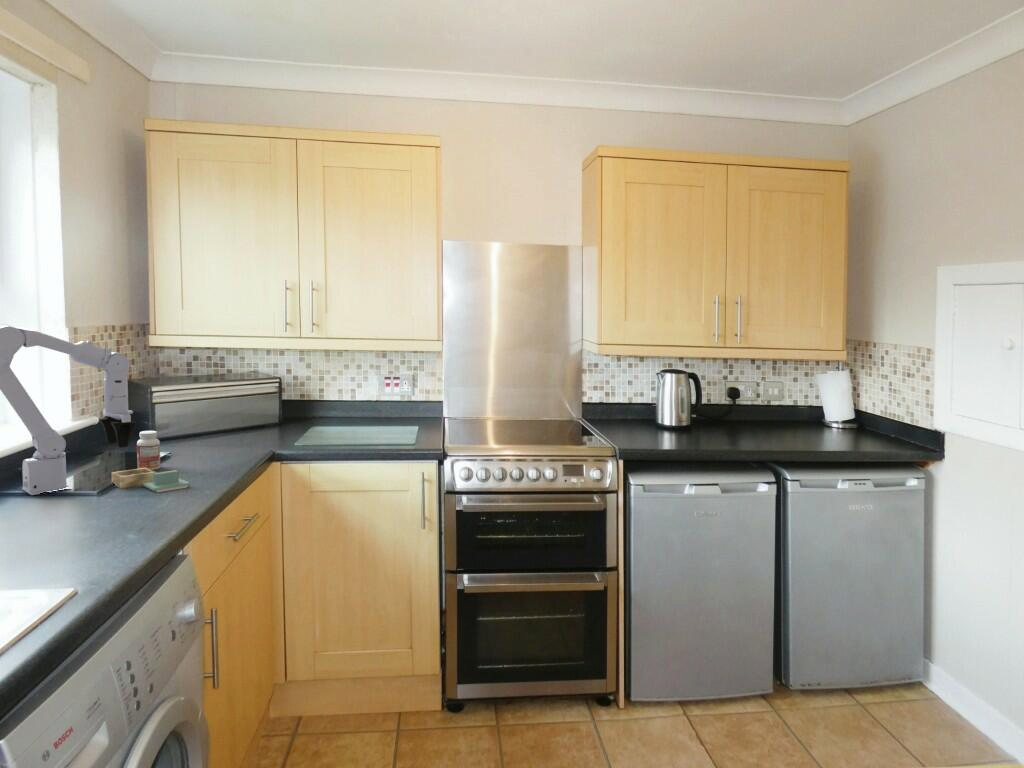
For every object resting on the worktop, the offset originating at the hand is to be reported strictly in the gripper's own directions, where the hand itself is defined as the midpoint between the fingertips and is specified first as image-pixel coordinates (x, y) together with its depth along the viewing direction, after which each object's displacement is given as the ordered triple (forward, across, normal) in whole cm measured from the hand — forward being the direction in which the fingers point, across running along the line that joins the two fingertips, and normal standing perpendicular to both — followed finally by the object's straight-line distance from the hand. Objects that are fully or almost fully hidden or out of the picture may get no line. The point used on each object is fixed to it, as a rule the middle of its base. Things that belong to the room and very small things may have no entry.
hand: (117, 444), depth 203 cm
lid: (+10, -14, -7) cm, 19 cm away
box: (+10, -6, -2) cm, 12 cm away
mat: (+10, -14, -7) cm, 19 cm away
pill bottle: (+10, +10, -12) cm, 19 cm away
